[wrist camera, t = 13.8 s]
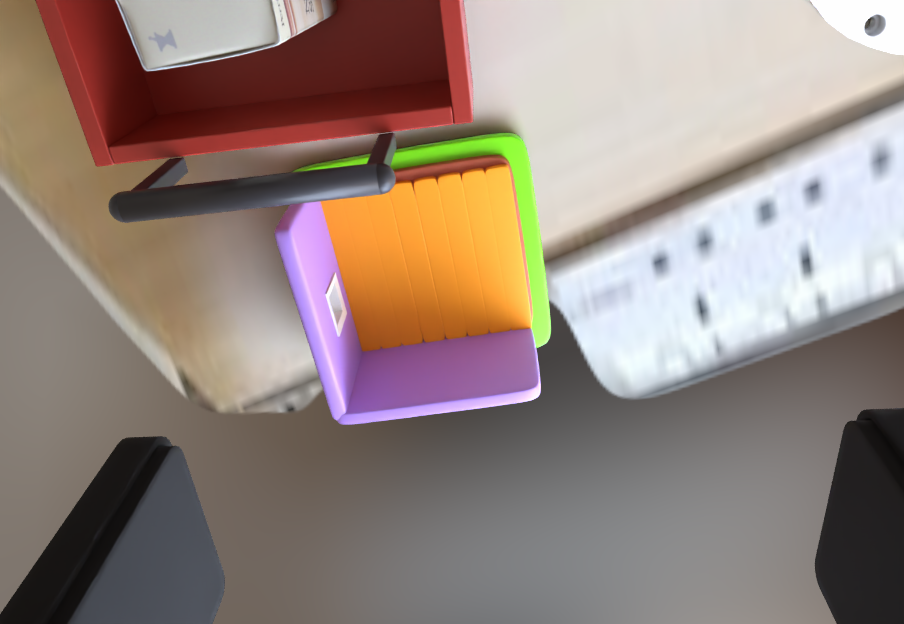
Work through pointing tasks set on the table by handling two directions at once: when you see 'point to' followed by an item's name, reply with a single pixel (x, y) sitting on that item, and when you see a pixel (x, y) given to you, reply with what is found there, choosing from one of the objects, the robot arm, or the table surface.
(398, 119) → the cart
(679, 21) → the table surface
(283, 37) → the white carton box
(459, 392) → the miniature room corner
